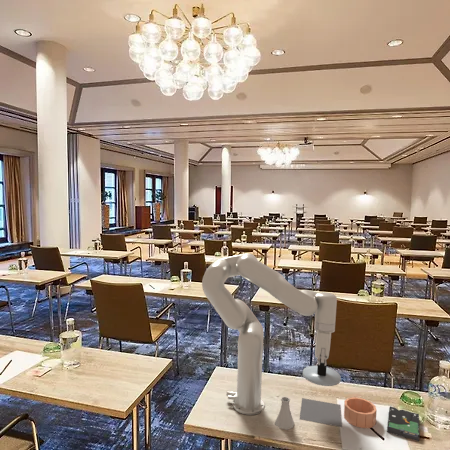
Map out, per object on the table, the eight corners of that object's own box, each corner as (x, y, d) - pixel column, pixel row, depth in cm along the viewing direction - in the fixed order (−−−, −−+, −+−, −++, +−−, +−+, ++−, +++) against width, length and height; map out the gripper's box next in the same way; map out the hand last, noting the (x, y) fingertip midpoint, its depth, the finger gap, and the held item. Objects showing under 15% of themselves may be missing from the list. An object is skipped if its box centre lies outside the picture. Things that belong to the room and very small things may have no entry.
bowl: (344, 426, 129) (345, 410, 129) (343, 410, 140) (344, 395, 140) (377, 433, 126) (378, 416, 126) (373, 415, 137) (374, 400, 137)
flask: (280, 417, 134) (281, 391, 133) (298, 425, 129) (299, 398, 129) (270, 426, 128) (271, 399, 128) (288, 434, 124) (289, 407, 123)
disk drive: (388, 412, 140) (386, 433, 127) (389, 405, 140) (387, 425, 127) (418, 420, 135) (419, 443, 122) (419, 413, 135) (420, 435, 122)
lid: (301, 381, 131) (302, 367, 131) (303, 365, 145) (304, 352, 144) (341, 388, 128) (342, 374, 127) (339, 371, 141) (340, 358, 141)
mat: (299, 421, 132) (299, 418, 132) (302, 399, 146) (302, 398, 146) (341, 429, 128) (342, 427, 128) (340, 406, 142) (340, 404, 142)
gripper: (315, 318, 144) (312, 362, 145) (313, 331, 128) (310, 381, 129) (334, 320, 142) (331, 365, 143) (335, 334, 126) (332, 385, 127)
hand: (321, 372), depth 136 cm, fingers closed on lid, 3 cm apart
